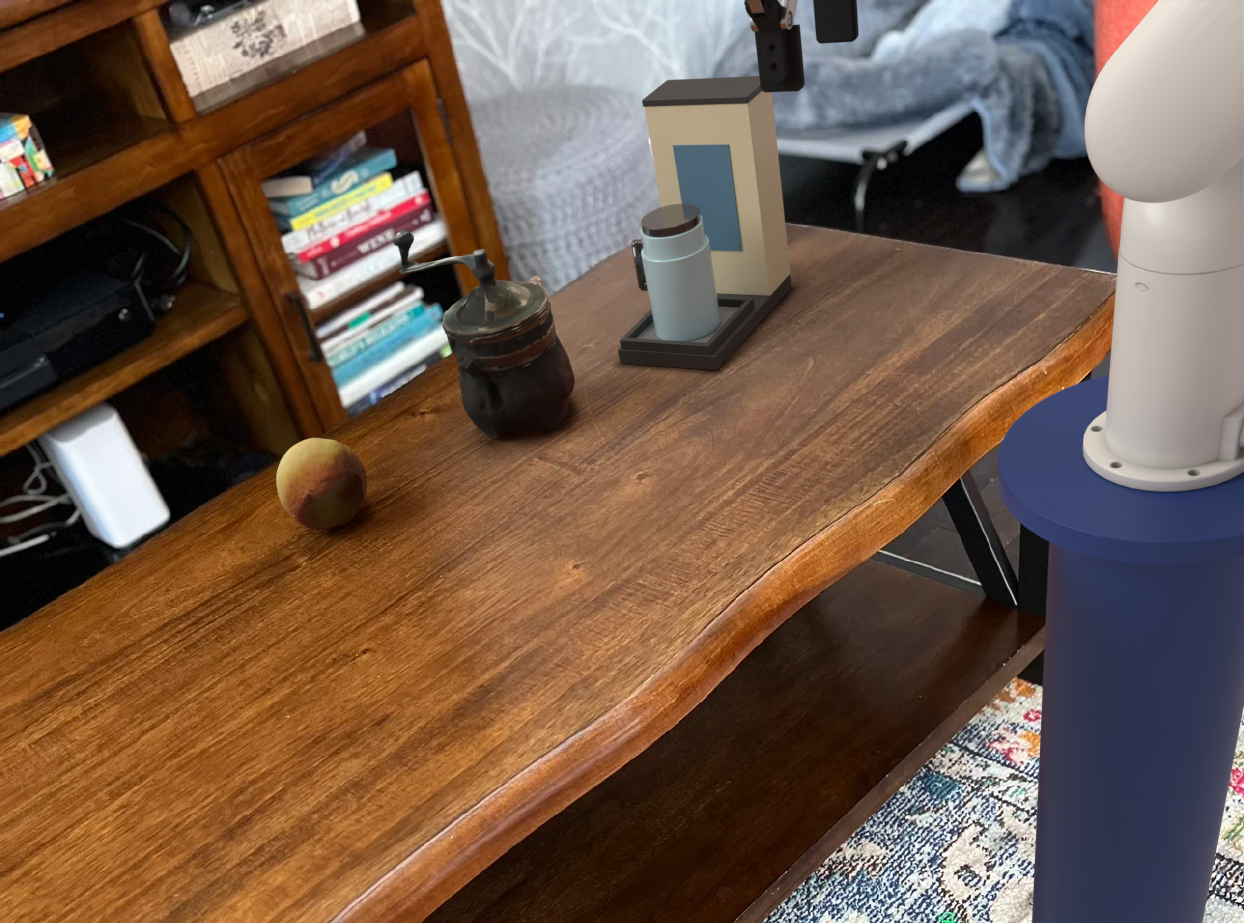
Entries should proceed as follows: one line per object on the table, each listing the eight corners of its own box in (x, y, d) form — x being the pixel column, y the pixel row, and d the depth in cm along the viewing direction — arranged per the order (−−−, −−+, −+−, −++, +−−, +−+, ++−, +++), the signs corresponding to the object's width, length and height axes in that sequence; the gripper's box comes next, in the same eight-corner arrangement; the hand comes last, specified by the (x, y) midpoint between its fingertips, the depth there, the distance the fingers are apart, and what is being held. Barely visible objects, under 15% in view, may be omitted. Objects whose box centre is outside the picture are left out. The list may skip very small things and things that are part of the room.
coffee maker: (718, 371, 124) (684, 151, 110) (619, 363, 129) (575, 152, 115) (793, 287, 134) (771, 75, 120) (698, 283, 139) (667, 79, 125)
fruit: (395, 502, 119) (366, 423, 113) (342, 553, 114) (309, 474, 108) (333, 493, 122) (302, 416, 116) (279, 543, 118) (244, 465, 112)
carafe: (702, 344, 125) (684, 231, 117) (630, 339, 129) (609, 230, 121) (732, 312, 129) (716, 201, 121) (661, 309, 132) (642, 200, 125)
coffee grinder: (470, 389, 132) (417, 209, 119) (602, 389, 126) (560, 200, 114) (415, 456, 124) (351, 271, 111) (552, 459, 118) (502, 264, 106)
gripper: (783, -207, 75) (810, 109, 87) (893, -272, 85) (903, 21, 97) (672, -189, 79) (712, 112, 91) (789, -254, 88) (811, 27, 100)
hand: (811, 65), depth 94 cm, fingers open, 9 cm apart
